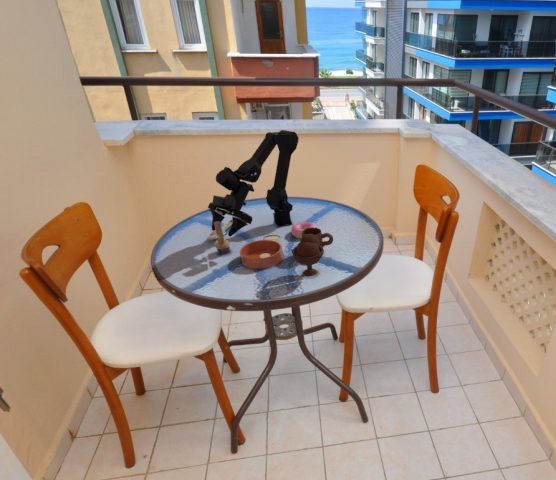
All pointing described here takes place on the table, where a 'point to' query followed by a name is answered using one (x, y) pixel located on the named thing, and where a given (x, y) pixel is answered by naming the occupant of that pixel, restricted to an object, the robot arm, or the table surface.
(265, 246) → the terracotta bowl
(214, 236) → the paintbrush
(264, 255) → the biscuit piece
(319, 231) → the mug
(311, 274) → the ice cream bowl
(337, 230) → the table surface
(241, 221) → the robot arm
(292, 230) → the doughnut
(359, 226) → the table surface
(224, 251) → the dish brush
